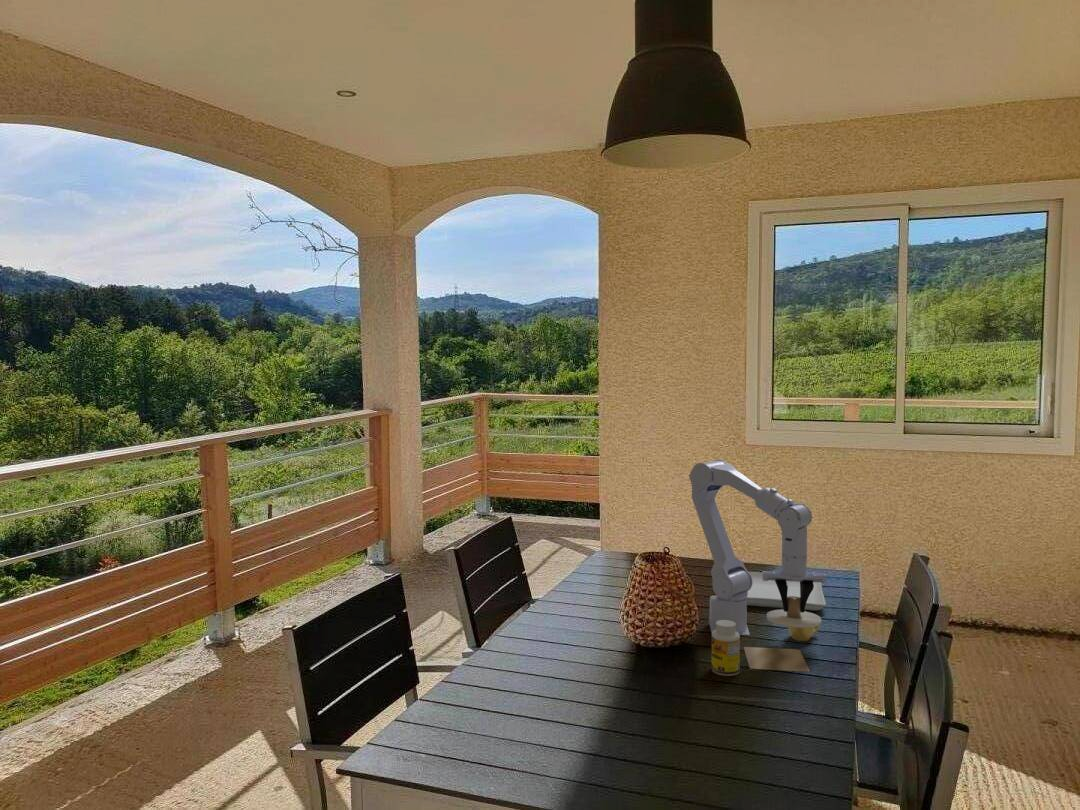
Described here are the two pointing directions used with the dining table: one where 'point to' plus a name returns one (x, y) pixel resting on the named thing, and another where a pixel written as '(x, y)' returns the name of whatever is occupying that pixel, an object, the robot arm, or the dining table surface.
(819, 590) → the square plate
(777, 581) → the robot arm
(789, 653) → the mat
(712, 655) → the supplement bottle
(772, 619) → the lid
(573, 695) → the dining table surface
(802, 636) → the cup
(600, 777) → the dining table surface
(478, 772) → the dining table surface
